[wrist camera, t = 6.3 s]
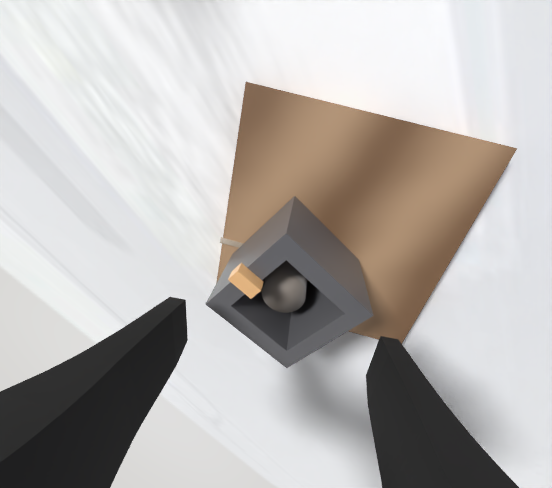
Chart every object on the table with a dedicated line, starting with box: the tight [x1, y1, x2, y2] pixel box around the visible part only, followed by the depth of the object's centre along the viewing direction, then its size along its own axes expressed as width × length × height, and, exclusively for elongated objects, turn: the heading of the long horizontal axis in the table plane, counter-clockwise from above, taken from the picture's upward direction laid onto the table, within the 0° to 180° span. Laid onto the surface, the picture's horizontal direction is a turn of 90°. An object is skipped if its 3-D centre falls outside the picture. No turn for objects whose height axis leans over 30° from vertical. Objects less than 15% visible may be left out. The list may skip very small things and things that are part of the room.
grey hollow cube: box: [206, 196, 374, 368], centre depth 14 cm, size 5×5×5 cm
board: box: [216, 82, 517, 344], centre depth 14 cm, size 12×12×4 cm
